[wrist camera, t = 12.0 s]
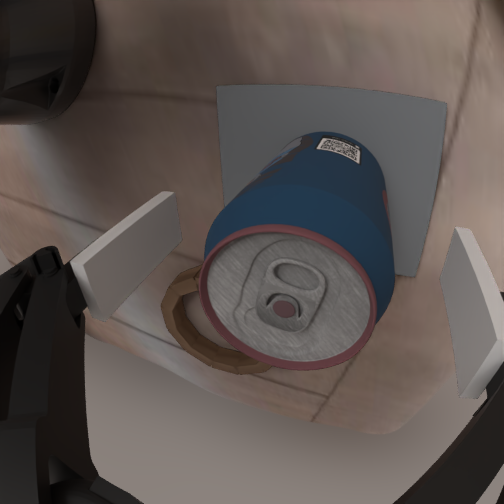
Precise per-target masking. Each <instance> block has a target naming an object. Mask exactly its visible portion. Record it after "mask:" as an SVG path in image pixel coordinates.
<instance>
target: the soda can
mask: <svg viewBox="0 0 504 504" xmlns="http://www.w3.org/2000/svg"><path fill="white" fill-rule="evenodd" d="M394 283H395V268H394V255H393V243H392V233H391V223H390V214H389V206H388V199H387V192H386V185H385V179H384V175H383V172H382V169H381V167H380V165H379V163H378V162H377V160H376V158H375V157H374V156H373V154H372V153H371V152H370V151H369V150H368V149H367V148H366V147H365V146H363V145H362V144H361V143H359V142H358V141H356V140H355V139H353V138H351V137H348V136H346V135H343V134H340V133H335V132H313V133H309V134H305V135H303V136H300V137H298V138H296V139H294V140H293V141H291V142H290V143H289V144H287V145H286V146H285V147H284V148H283V149H282V150H281V151H280V152H279V153H278V154H277V155H276V156H275V157H274V158H273V159H272V160H271V161H270V162H269V163H268V164H267V165H266V166H265V167H264V168H263V169H262V170H261V171H260V172H259V173H258V174H257V175H256V176H255V177H254V178H253V179H252V180H251V181H250V182H249V183H248V184H247V185H246V186H245V187H244V188H243V189H242V190H241V191H240V192H239V193H238V194H237V195H236V196H235V197H234V198H233V199H232V201H231V202H230V203H229V204H228V205H227V206H226V207H225V208H224V209H223V210H222V211H221V212H220V213H219V215H218V216H217V217H216V219H215V220H214V222H213V224H212V226H211V228H210V230H209V233H208V236H207V239H206V244H205V252H204V263H203V265H202V268H201V271H200V276H199V295H200V300H201V304H202V307H203V309H204V311H205V314H206V316H207V317H208V319H209V321H210V322H211V324H212V325H213V327H214V328H215V329H216V330H217V332H218V333H219V334H220V335H221V336H222V337H223V338H224V339H225V340H226V341H227V342H229V343H230V344H231V345H232V346H234V347H235V348H236V349H238V350H239V351H241V352H242V353H244V354H246V355H247V356H249V357H251V358H253V359H255V360H257V361H260V362H262V363H265V364H268V365H271V366H275V367H279V368H283V369H290V370H317V369H324V368H328V367H332V366H335V365H338V364H341V363H343V362H345V361H347V360H349V359H350V358H352V357H353V356H354V355H356V354H357V353H358V352H359V351H360V350H361V349H362V348H363V347H364V345H365V344H366V343H367V341H368V340H369V338H370V336H371V334H372V332H373V329H374V326H375V324H376V323H377V322H378V321H379V320H380V318H381V317H382V315H383V314H384V312H385V310H386V309H387V307H388V305H389V303H390V300H391V297H392V294H393V290H394Z"/></svg>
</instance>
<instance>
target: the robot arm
mask: <svg viewBox="0 0 504 504" xmlns="http://www.w3.org/2000/svg"><path fill="white" fill-rule="evenodd" d="M94 41H95V12H94V6H93V2H92V0H0V125H30V124H36V123H39V122H42V121H45V120H47V119H50V118H53V117H56V116H58V115H59V114H61V113H62V112H63V111H65V110H66V109H67V108H68V107H69V106H70V104H71V103H72V102H73V100H74V99H75V98H76V96H77V94H78V93H79V91H80V89H81V87H82V85H83V83H84V80H85V78H86V75H87V73H88V69H89V66H90V62H91V58H92V54H93V48H94ZM181 241H182V235H181V229H180V223H179V216H178V209H177V202H176V195H175V192H167V191H162V192H160V193H159V194H158V195H156V196H155V197H153V198H152V199H151V200H149V201H148V202H146V203H145V204H144V205H142V206H141V207H139V208H138V209H137V210H135V211H134V212H132V213H131V214H130V215H128V216H127V217H126V218H124V219H123V220H122V221H120V222H119V223H118V224H116V225H115V226H114V227H112V228H111V229H110V230H108V231H107V232H106V233H105V234H103V235H102V236H101V237H99V238H97V239H96V240H95V241H93V242H92V243H91V244H90V245H88V246H87V247H86V248H85V249H84V250H82V251H81V252H80V253H78V254H77V255H76V256H75V257H74V258H72V259H71V260H70V261H69V262H68V263H66V264H65V265H63V262H62V259H61V256H60V254H59V251H58V248H57V247H55V246H48V247H44V248H41V249H39V250H38V251H36V252H35V253H34V254H32V256H31V257H30V261H31V264H32V266H33V268H34V271H35V273H36V275H31V274H30V272H29V269H28V267H27V266H26V265H19V266H18V265H17V266H15V267H13V268H11V269H10V270H9V271H8V272H7V273H6V274H5V275H4V277H3V278H2V280H1V281H0V504H144V503H142V502H140V501H139V500H138V499H136V498H135V497H134V496H132V495H131V494H129V493H128V492H126V491H124V490H122V489H120V488H118V487H117V486H115V485H113V484H111V483H109V482H108V481H106V480H105V479H103V478H101V477H100V476H99V474H98V472H97V470H96V468H95V466H94V464H93V462H92V460H91V456H90V448H89V438H88V428H87V416H86V400H85V371H84V341H85V339H84V337H85V316H84V313H83V310H84V309H85V308H86V307H88V309H89V311H90V313H91V316H92V317H93V318H95V319H98V320H101V321H103V322H106V321H107V320H108V319H109V317H110V316H111V315H112V314H113V313H114V312H115V311H116V310H117V309H118V307H119V306H120V305H121V304H122V303H123V302H124V301H125V300H126V299H127V298H128V297H129V296H130V294H131V293H132V292H133V291H134V290H135V289H136V288H137V287H138V286H139V285H140V284H141V283H142V282H143V281H144V279H145V278H146V277H147V276H148V275H149V274H150V273H151V272H152V271H153V270H154V269H155V268H156V267H157V266H158V265H159V264H160V263H161V262H162V261H163V260H164V259H165V258H166V256H167V255H168V254H169V253H170V252H171V251H172V250H173V249H174V248H175V247H176V246H177V245H178V244H179V243H180V242H181ZM440 283H441V287H442V291H443V296H444V300H445V305H446V310H447V315H448V320H449V326H450V332H451V338H452V344H453V351H454V358H455V365H456V373H457V383H458V393H459V398H473V399H475V398H476V399H478V398H479V396H480V395H481V394H482V392H483V391H484V390H485V388H486V391H487V399H486V400H485V401H484V403H483V404H482V405H481V406H480V408H479V409H478V410H477V411H476V412H475V413H474V415H473V418H472V419H471V420H470V422H469V423H468V424H467V425H466V427H465V428H464V429H463V431H462V432H461V433H460V434H459V435H458V437H457V438H456V439H455V440H454V442H453V443H452V444H451V445H450V446H449V447H448V449H447V450H446V451H445V452H444V453H443V454H442V455H441V456H440V458H439V459H438V460H437V461H436V462H435V463H434V464H433V465H432V466H431V467H430V468H429V469H428V471H427V472H426V473H425V474H424V475H423V476H422V477H421V478H420V479H419V480H418V481H417V482H416V483H415V484H414V485H413V486H412V487H410V488H409V489H408V490H407V491H406V492H405V493H404V494H403V495H402V496H401V497H400V498H399V499H398V500H396V501H395V502H394V503H393V504H476V502H477V501H478V500H479V498H480V497H481V496H482V494H483V493H484V491H485V490H486V489H487V487H488V486H489V485H490V483H491V482H492V480H493V479H494V477H495V476H496V474H497V473H498V472H499V470H500V468H501V467H502V465H503V464H504V292H499V289H498V287H497V284H496V282H495V280H494V277H493V275H492V273H491V271H490V268H489V266H488V264H487V262H486V260H485V258H484V256H483V254H482V251H481V249H480V247H479V245H478V243H477V241H476V239H475V238H474V236H473V234H472V232H471V230H470V229H467V228H461V227H456V226H455V229H454V233H453V236H452V240H451V244H450V247H449V251H448V254H447V257H446V260H445V264H444V267H443V270H442V273H441V276H440ZM16 306H17V308H18V310H19V312H20V314H21V315H22V316H21V318H20V319H18V318H17V316H16V314H15V312H14V310H15V308H16ZM496 504H504V486H503V488H502V491H501V493H500V496H499V498H498V500H497V503H496Z"/></svg>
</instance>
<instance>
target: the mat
mask: <svg viewBox="0 0 504 504" xmlns="http://www.w3.org/2000/svg"><path fill="white" fill-rule="evenodd" d="M216 94H217V110H218V126H219V141H220V155H221V169H222V183H223V196H224V208H225V207H226V206H227V205H228V204H229V203H230V202H231V201H232V199H233V198H234V197H235V196H236V195H237V194H238V193H239V192H240V191H241V190H242V189H243V188H244V187H245V186H246V185H247V184H248V183H249V182H250V181H251V180H252V179H253V178H254V177H255V176H256V175H257V174H258V173H259V172H260V171H261V170H262V169H263V168H264V167H265V166H266V165H267V164H268V163H269V162H270V161H271V160H272V159H273V158H274V157H275V156H276V155H277V154H278V153H279V152H280V151H281V150H282V149H283V148H284V147H285V146H286V145H287V144H289V143H290V142H291V141H293V140H294V139H296V138H298V137H300V136H303V135H305V134H309V133H313V132H335V133H340V134H343V135H346V136H348V137H351V138H353V139H355V140H356V141H358V142H359V143H361V144H362V145H363V146H365V147H366V148H367V149H368V150H369V151H370V152H371V153H372V154H373V156H374V157H375V158H376V160H377V162H378V163H379V165H380V167H381V169H382V172H383V175H384V179H385V185H386V192H387V199H388V206H389V214H390V223H391V233H392V243H393V255H394V268H395V274H397V275H403V276H410V277H415V275H416V272H417V268H418V265H419V261H420V257H421V254H422V250H423V246H424V242H425V238H426V234H427V229H428V225H429V221H430V216H431V211H432V207H433V202H434V197H435V191H436V186H437V180H438V174H439V168H440V161H441V155H442V147H443V139H444V131H445V121H446V110H447V103H445V102H441V101H436V100H431V99H426V98H420V97H415V96H409V95H403V94H396V93H389V92H382V91H374V90H366V89H356V88H345V87H333V86H317V85H292V84H249V85H223V86H216Z"/></svg>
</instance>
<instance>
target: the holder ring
mask: <svg viewBox="0 0 504 504" xmlns="http://www.w3.org/2000/svg"><path fill="white" fill-rule="evenodd" d="M202 265H203V264H202ZM202 265H200V266H197V267H195V268H192V269H189V270H187V271H184V272H182V273H180V274H179V275H178V276H177V278H176V279H175V280H174V281H173V282H172V283H171V285H170V286H169V287H168V289H167V292H166V294H165V296H164V299H163V301H162V303H161V310H162V314H163V317H164V321H165V324H166V327H167V329H168V331H169V332H170V333H171V335H172V336H173V337H174V338H175V339H176V341H177V342H178V343H179V344H180V345H181V347H182V348H183V349H184V350H187V351H186V352H188V353H189V354H191V355H192V356H194V357H195V358H197V359H199V360H200V361H202V362H203V363H205V364H207V365H208V366H211V365H212V368H216V369H219V370H223V371H227V372H230V373H234V374H240V375H243V374H253V373H262V372H264V371H265V372H266V371H267V370H268V369H269V368H271V367H272V366H271V365H268V364H265V363H262V362H260V361H257V360H255V359H253V358H251V357H249V356H247V355H246V354H244V353H242V352H238V351H234V350H230V349H226V348H222V347H219V346H218V345H216V344H215V343H213V342H211V341H210V340H208V339H207V338H205V337H204V336H202V335H200V334H199V332H198V331H197V330H196V329H195V327H194V326H193V325H192V324H191V322H190V321H189V320H188V319H187V317H186V314H185V310H184V305H183V301H182V297H183V295H185V294H188V293H191V292H194V291H197V290H199V276H200V271H201V268H202Z"/></svg>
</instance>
